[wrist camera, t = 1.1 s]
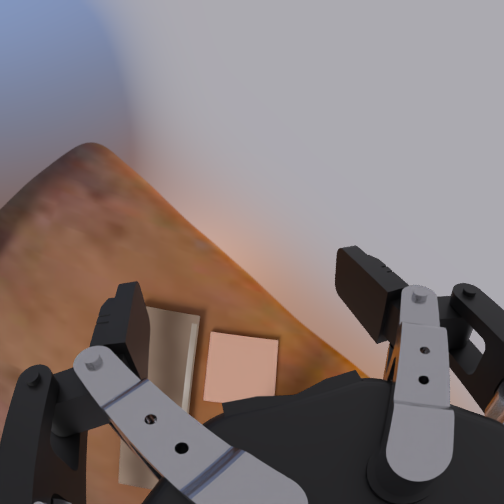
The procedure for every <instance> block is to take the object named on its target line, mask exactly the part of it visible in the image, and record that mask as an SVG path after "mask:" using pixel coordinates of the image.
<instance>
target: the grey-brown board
mask: <svg viewBox="0 0 504 504" xmlns="http://www.w3.org/2000/svg"><path fill="white" fill-rule="evenodd" d="M146 309H147V312H148V315H149V320H150V344H149V362H148V380H150V381H151V382H152V383H153V384H154V385H155V386H156V387H158V388H159V389H160V390H161V391H162V392H163V393H164V394H165V395H167V396H168V397H169V398H170V399H171V400H172V401H174V402H175V403H176V404H177V405H178V406H179V407H181V408H182V409H183V410H184V411H186V412H187V413H188V414H189V406H190V397H191V387H192V378H193V370H194V361H195V353H196V345H197V337H198V329H199V321H200V316H197V315H191V314H186V313H180V312H174V311H169V310H163V309H158V308H153V307H147V306H146ZM158 481H159V480H158V479H157V478H156V477H155V476H154V475H153V474H152V473H151V472H150V471H149V470H148V469H147V468H146V467H145V466H144V464H143V463H142V462H141V461H140V460H139V459H138V458H137V456H136V455H135V454H134V453H133V452H132V451H131V450H130V449H129V447H128V446H127V445H126V444H125V443H124V442H123V441H122V439H121V446H120V461H119V483H121V484H126V485H130V486H136V487H141V488H147V489H153V488H154V487H155V485H156V484H157V482H158Z"/></svg>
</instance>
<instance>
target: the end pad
mask: <svg viewBox="0 0 504 504" xmlns="http://www.w3.org/2000/svg"><path fill="white" fill-rule="evenodd" d="M277 352H278V340H271V339H262V338H254V337H246V336H239V335H231V334H224V333H217V332H211V333H210V342H209V351H208V360H207V369H206V378H205V387H204V397H203V400H204V401H212V402H221V403H224V402H230V401H235V400H241V399H246V398H251V397H255V396H274V395H275V382H276V367H277Z"/></svg>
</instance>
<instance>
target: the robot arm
mask: <svg viewBox="0 0 504 504" xmlns="http://www.w3.org/2000/svg"><path fill="white" fill-rule="evenodd" d="M335 287H336V291H337V293H338V295H339V296H340V298H341V299H342V300H343V302H344V303H345V304H346V305H347V307H348V308H349V309H350V310H351V312H352V313H353V314H354V315H355V317H356V318H357V319H358V320H359V322H360V323H361V324H362V326H363V327H364V328H365V329H366V331H367V332H368V333H369V335H370V336H371V337H372V338H373V340H374V341H375V342H376V343H377V344H378V343H381V342H384V341H387V340H388V341H389V342H390V344H389V348H388V352H387V359H386V366H385V371H384V377H383V380H382V379H375V378H360V376H359V375H358V373H357V372H356V370H353V371H350V372H347V373H344V374H341V375H337V376H334V377H331V378H327V379H325V380H323V381H321V382H319V383H317V384H315V385H314V386H312V387H310V388H308V389H306V390H304V391H302V392H300V393H298V394H295V395H285V396H255V397H251V398H246V399H241V400H235V401H230V402H224V403H222V406H223V411H224V413H222V414H220V415H217V416H215V417H213V418H212V419H210V420H208V421H207V422H205V423H204V424H203V425H202V424H201V423H199V422H198V421H197V420H195V419H194V418H193V417H192V416H190V415H189V414H188V413H187V412H186V411H184V410H183V409H182V408H181V407H179V406H178V405H177V404H176V403H175V402H174V401H172V400H171V399H170V398H169V397H168V396H167V395H165V394H164V393H163V392H162V391H161V390H160V389H159V388H158V387H156V386H155V385H154V384H153V383H152V382H151V381H150V380H148V362H149V344H150V320H149V315H148V312H147V309H146V305H145V302H144V299H143V295H142V292H141V288H140V285H139V283H138V282H137V281H136V282H130V283H123V284H119V285H118V289H117V292H116V296H115V298H109V299H108V300H107V301H106V302H105V303H104V304H103V305H102V307H101V309H100V312H99V317H98V319H97V322H96V323H97V325H96V326H95V329H94V333H93V336H92V340H91V343H90V347H89V348H87V349H85V350H83V351H82V352H81V353H79V354H78V356H77V357H76V358H75V360H74V364H73V368H70V369H68V370H65V371H62V372H59V373H56V374H53V373H52V372H51V370H50V369H49V368H48V367H47V366H45V365H34V366H31V367H29V368H28V369H26V370H25V371H24V372H23V373H22V374H21V375H20V377H19V378H18V381H17V384H16V387H15V390H14V393H13V397H12V400H11V403H10V407H9V411H8V414H7V418H6V422H5V426H4V430H3V434H2V438H1V443H0V504H86V454H87V434H88V430H90V429H93V428H96V427H99V426H102V425H105V424H109V425H110V426H111V427H112V429H113V430H114V431H115V432H116V433H117V435H118V436H119V437H120V438H121V439H122V441H123V442H124V443H125V444H126V445H127V446H128V447H129V449H130V450H131V451H132V452H133V453H134V454H135V455H136V456H137V458H138V459H139V460H140V461H141V462H142V463H143V464H144V466H145V467H146V468H147V469H148V470H149V471H150V472H151V473H152V474H153V475H154V476H155V477H156V478H157V479H158V480H159V481H158V482H157V484H156V485H155V487H154V488H153V489H152V491H151V492H150V493H149V495H148V496H147V497H146V499H145V500H144V501H143V503H142V504H504V310H503V309H502V308H501V307H500V306H498V305H497V304H496V303H495V302H494V301H493V300H492V299H490V298H489V297H488V296H487V295H486V294H485V293H483V292H482V291H481V290H480V289H479V288H477V287H475V286H473V285H470V284H466V283H460V284H457V285H455V286H454V287H453V291H452V294H451V296H443V297H437V296H436V294H435V293H434V292H433V291H432V290H431V289H429V288H427V287H424V286H420V285H411V286H409V285H408V284H407V283H405V281H403V280H402V279H401V278H400V277H399V276H398V275H396V274H395V273H394V272H392V270H391V269H390V268H388V267H386V265H385V264H384V263H383V262H381V261H380V260H379V259H377V258H375V257H372V256H370V255H367V254H365V253H364V252H363V251H362V250H361V249H360V248H358V247H357V246H350V247H344V248H340V249H338V251H337V259H336V274H335ZM473 329H474V330H475V331H476V332H477V333H478V334H479V335H480V336H481V337H482V338H483V339H484V342H485V352H484V354H482V353H481V352H480V351H479V350H478V349H477V348H476V347H475V345H474V344H473V343H472V342H471V341H470V340H469V338H470V335H471V333H472V330H473ZM449 367H450V368H451V370H452V371H453V372H454V373H455V375H456V376H457V377H458V378H459V380H460V381H461V382H462V384H463V385H464V386H465V388H466V389H467V390H468V392H469V393H470V394H471V396H472V397H473V398H474V400H475V401H476V402H477V404H478V405H479V407H480V408H481V409H482V411H483V412H484V413H485V416H483V415H480V414H477V413H474V412H471V411H468V410H465V409H462V408H460V407H457V406H454V405H451V404H450V375H449Z"/></svg>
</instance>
